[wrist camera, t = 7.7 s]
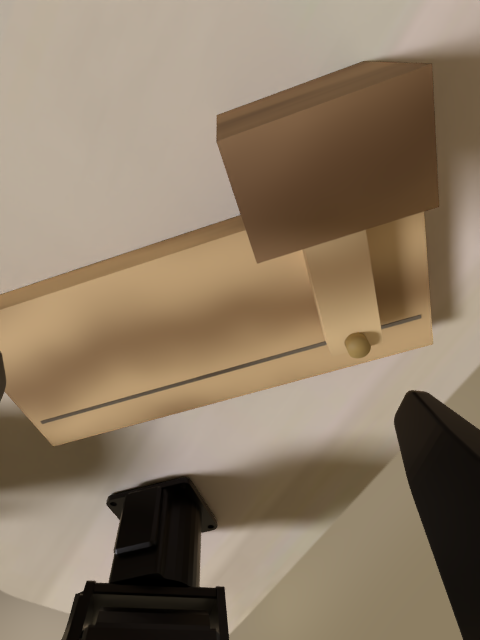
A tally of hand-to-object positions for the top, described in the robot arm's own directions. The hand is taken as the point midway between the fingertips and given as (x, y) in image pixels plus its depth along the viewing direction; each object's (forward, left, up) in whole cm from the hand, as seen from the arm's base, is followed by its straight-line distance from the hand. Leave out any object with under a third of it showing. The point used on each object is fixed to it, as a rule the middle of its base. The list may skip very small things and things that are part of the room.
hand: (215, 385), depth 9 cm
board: (-5, +2, -12) cm, 13 cm away
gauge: (-2, -4, -12) cm, 12 cm away
